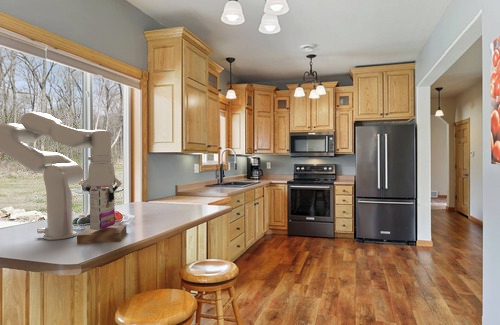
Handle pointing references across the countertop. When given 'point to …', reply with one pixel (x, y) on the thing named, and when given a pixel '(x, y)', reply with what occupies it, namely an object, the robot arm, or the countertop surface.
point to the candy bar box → (101, 209)
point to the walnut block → (102, 235)
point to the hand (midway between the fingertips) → (102, 201)
